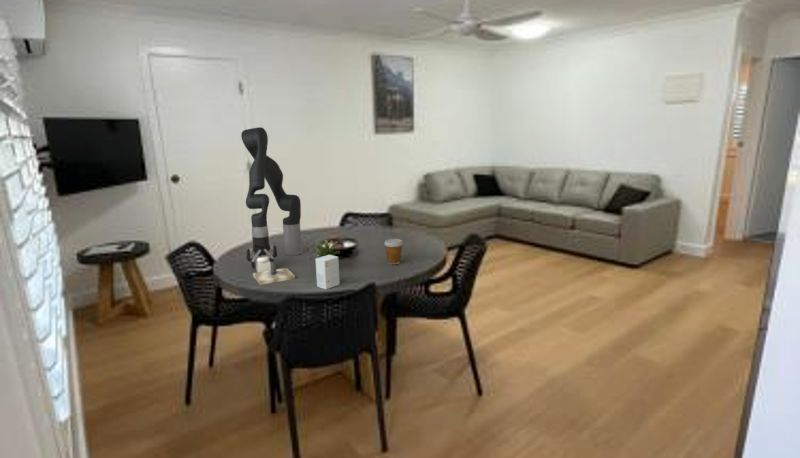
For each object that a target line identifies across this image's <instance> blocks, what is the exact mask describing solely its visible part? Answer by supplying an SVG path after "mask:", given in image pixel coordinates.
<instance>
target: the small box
mask: <svg viewBox="0 0 800 458" xmlns="http://www.w3.org/2000/svg"><path fill="white" fill-rule="evenodd" d="M339 263H340V262H339V256H336V255H334V254H333V255H326V256H323V257H322V256H320V257H316V258H315V272H316V274H315V275H316V286H317V288H321V289H324V290H328V289H330V288H334V287H337V286H340V268H339V266H340V265H339Z"/></svg>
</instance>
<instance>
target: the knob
mask: <svg viewBox="0 0 800 458" xmlns="http://www.w3.org/2000/svg"><path fill="white" fill-rule="evenodd" d="M255 270H256V273H258V272H264V271H270V270H271V267H270V257H269V256H268V255H267V254H266V255H262V256H257V258H256V259H255Z"/></svg>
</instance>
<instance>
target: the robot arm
mask: <svg viewBox="0 0 800 458" xmlns="http://www.w3.org/2000/svg"><path fill="white" fill-rule="evenodd" d="M240 135H241V136H240V137H241V141H242V144H243V145H244V147H245V148H246V150H247V151H248V153H249V154H250V156H251V157H252V159H254V160H253V162H252V164H251V166H250V168H249V171H248V176H249V177H248V179H249V180H248V181H249V183H248V190H247V191H248V192H247V194H246V199H245V206H246V207H247V208H248V209H250V210H257V209H258V210H259V209H261V211H260V212H257V213H253V214H251V217H250V218H251V219H250V220H251V237H252V247H251V248H249V247H247V248H246V252H245V253H246V260H247V261H248V262H250V263H251V264H250V266H251V269H253V270H256V258H257V256H262V255H268V256H269V262H273V261H274V262H275V258H277V257H278V254H277V253H278V251H277V246H276V245H275V244H272V245H270V239H269V238H270V237H269V228H268V220H267V218H268V217H267V216H268V209H269V204H270V198H269V197H270V196H268V194H266V193H256V192H258V191H261V190H265V186H266V184H265V183H267V185H268V187H269V188H270V189H271V193H272V194H273V196H274V199H275V201H276V203H277V206H278V207H279V209H280V211H284V212H289V213H288V216H286V217H283V219H282V228H283V229H282V230H283V231H282V232H283V243H284V244H283V246H284V254H285V255H286V256H297V255H298V256H299V255H301V254H303V253H304V247H303V237H302V235H301V232H302V231H301V219H302V218H301V217H302V214H301V213H302V212H301V211H302V209H301V206H302V203H301V199H300V196H299V195H297V194H287V192H286V191H285V190H284V188H283V181H284V174H283V171H282V169H281V168H280V165H279V164H278V162H276V161H275V160H274V159H273V158H271V157H270V156H269V155H267V152H268V151H267V150H268V141H269V136H268V133H267V131H266V129H265V128H264V127H252V128H247V129H244V130H243V131H241V134H240ZM265 181H266V182H265ZM270 250H272V254H271V252H270ZM252 251H253V254H252V256H251V253H252Z"/></svg>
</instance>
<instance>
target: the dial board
mask: <svg viewBox="0 0 800 458" xmlns="http://www.w3.org/2000/svg"><path fill="white" fill-rule="evenodd" d="M269 262H270V261H269ZM276 263H277V262H276V261H275V260H274V261H273V262H270V268H271V270H270V271H264V272H253V273H252V276H253V278H254V279H255V281H257V283H258V285H260V286H261V285H266V284H267V285H268V284H273V283H274V284H275V283H278V282H283V281H284V282H285V281H289V280H295V279H296V275H294V274H293V273H292V271H290V269H288V268H287V267H283V268H278V269H277V267H276V266H277V265H276Z"/></svg>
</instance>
